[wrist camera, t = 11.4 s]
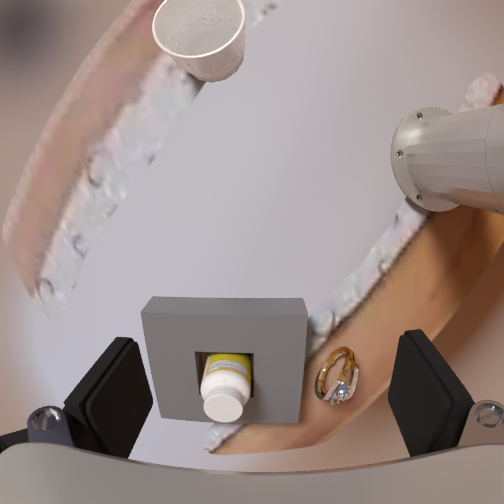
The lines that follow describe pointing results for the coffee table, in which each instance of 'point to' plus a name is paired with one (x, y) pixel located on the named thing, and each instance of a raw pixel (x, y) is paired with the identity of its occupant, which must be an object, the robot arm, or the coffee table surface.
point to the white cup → (202, 36)
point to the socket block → (228, 341)
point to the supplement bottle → (226, 385)
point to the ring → (338, 384)
